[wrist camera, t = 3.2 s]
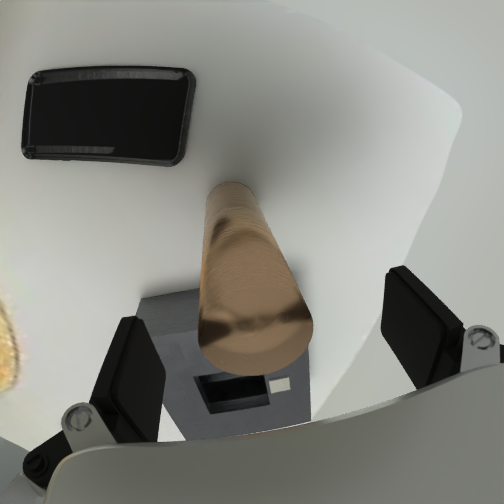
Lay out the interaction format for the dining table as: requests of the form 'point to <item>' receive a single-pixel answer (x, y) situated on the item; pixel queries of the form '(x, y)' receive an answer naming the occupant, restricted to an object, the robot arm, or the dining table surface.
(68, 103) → the phone
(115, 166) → the dining table surface
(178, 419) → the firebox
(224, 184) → the brown long cylinder
